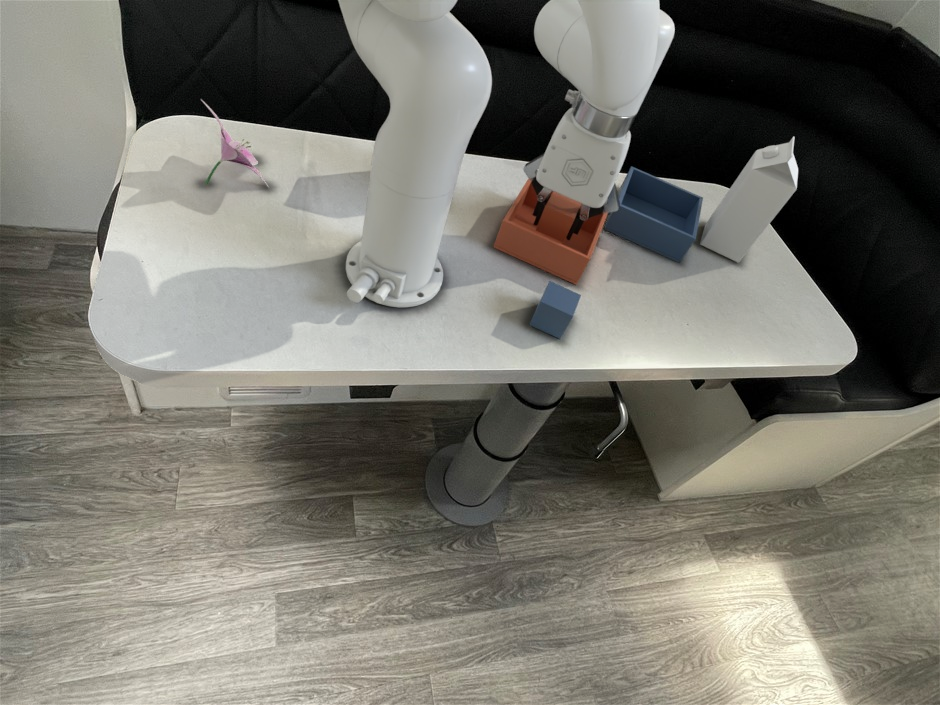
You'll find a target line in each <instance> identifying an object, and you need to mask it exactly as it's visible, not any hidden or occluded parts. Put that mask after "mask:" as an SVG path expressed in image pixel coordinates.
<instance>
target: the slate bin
mask: <svg viewBox="0 0 940 705" xmlns="http://www.w3.org/2000/svg"><path fill="white" fill-rule="evenodd" d="M617 193H618V197H619V201H620V206H619V209H618V210H617V211H615V212H609V215H608V216H607V219H606V221H605V225H604V228H603V229H604V230H605V231H608V232H609V233H611V234H613V235H616V236H618V237H620V238H622V239H624V240H627V241H629V242H632V243H634V244H636V245H638V246H640V247H643V248H645V249H647V250H649V251H652V252H655V253H657V254H659V255H660V256H662V257H666V258H667V259H670V260H673V261H675V262H677V263H679V264H680V263H681V262H682V260H683V259H684V257H685V256H686V254H687V253H688V251H689V250H690V248H691V247H692V245H693V244H694V243H695V241H696V239H697V234H698V228H699V223H700V218H701V210H702V207H703V201H704V197H703V196H701V195H699V194H696V193H694V192H691V191H689V190H686V189H684V188H683V187H680V186H678V185H675V184H673V183H671V182H668V181H666V180H663V179H661V178H659V177H657V176H655V175H652V174H650V173H648V172H646V171H643V170H641V169H638V168H636V167H634V166H630V168H629V170H628V172H627V173H626V176H625V177H624V180H623V181H622V183H621V185H620V187H619V189H618V190H617Z"/></svg>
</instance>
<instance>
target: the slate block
mask: <svg viewBox="0 0 940 705" xmlns="http://www.w3.org/2000/svg"><path fill="white" fill-rule="evenodd" d="M581 297H582V294H579V293H577V292H576V291H573V290H571V289H569V288H566V287H564V286H562V285H559V284H558V283H555V282H553V281H551V280H549V281H548V283H547V285H546V287H545V290H544V292H543V294H542V296H541V298H540V300H539V302H538V304H537V306H536V308H535V310H534V313H533V315H532V317H531V319H530V321H529V325H528V326H530V327H532V328H535V329H537V330H539V331H541V332H544V333H545V334H548V335H550V336H552V337H554V338H557V339H559V340H561V339H562V338H563V336H564V335H565V332H566V331H567V328H568V326H569V325H570V323H571V321H572V319H573V318H574V315H575V313H576V310H577V308H578V306H579V302H580V300H581Z"/></svg>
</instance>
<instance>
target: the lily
mask: <svg viewBox="0 0 940 705" xmlns="http://www.w3.org/2000/svg"><path fill="white" fill-rule="evenodd" d="M201 102H202V103H203V105H204V106H205V107H206V108H207V109H208V110H209V112H210V113H211V114H212V115H213V117H214V118H215V119H216V121H217V122H218V124H219V126H220V131H218V132H217V133H218V136H219V137H220V158H219V160H218V161H217V163H216V164H215V165H214V167H213V168H212V169H211V171H210V173H209V175H208V177H207V179H206V181H205V184H206V185H209V184H210V180H211V178H212V177H213V175H214V173H215V171H216V169H217V168H218V167H219V166H220V164H221V163H223V162H230V163H235V164H238V165H241V166H244V167H246V168H248V169H250V170H251V171H252V172H254V173H255V175H257V176H258V177H259V178H260V179H261V180H262V182H263V183H264V184H265V185H266V186H267V187H269V185H268V183H267V182H266V181H265V179H264V177H263V174H262V172H261V171H260V170H259V169H257V168H256V167H255V166H256V165H258V164H259V162H258V160H257V159H256V157H255V156H254V154H253V153H252V152H251V151H250V150H249V149H248V146H246V145H248V144H250V142H249V141H246V142H244V141H245V139H242V141H238V140H234V138H233V137H232V136H231V134H230V133H229V132H228V130H227V129H226V128H225V127H224V126H223V123H222V122H221V120H220V117H219V116H218V115H217V114H216V113H215V111H214V110H213V109H212V108H211V107H210V106H209V105H208V104H207V103H206V102H205V101H204V100H203V99H201ZM243 142H244V143H243Z"/></svg>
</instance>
